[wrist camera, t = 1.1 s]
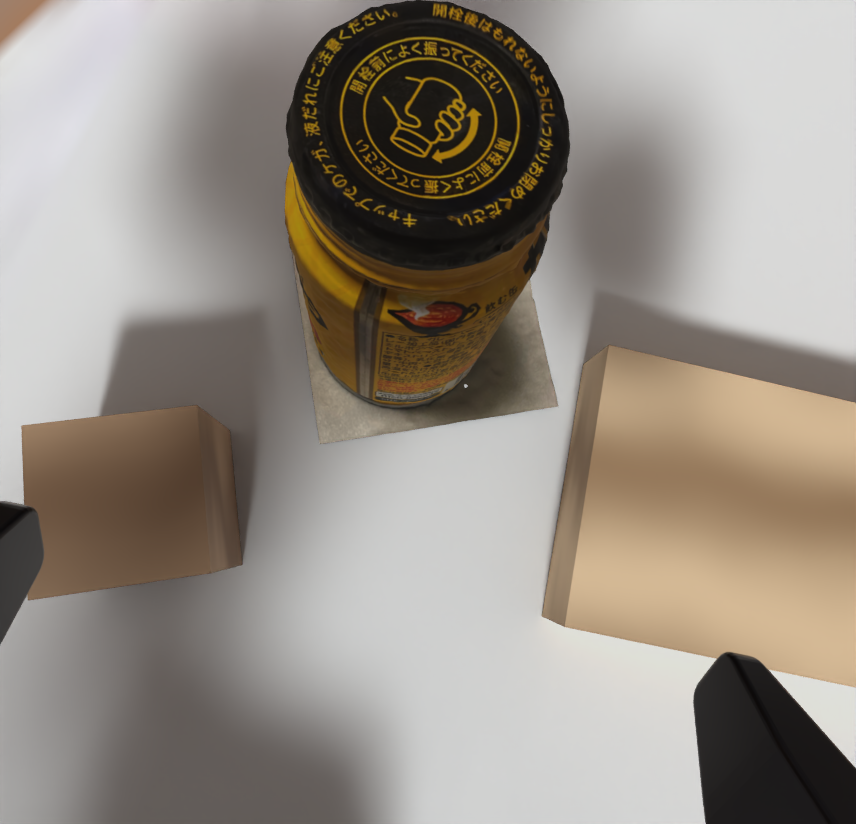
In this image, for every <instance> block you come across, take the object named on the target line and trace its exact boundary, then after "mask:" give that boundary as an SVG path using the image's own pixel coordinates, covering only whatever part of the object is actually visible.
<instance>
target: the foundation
mask: <svg viewBox="0 0 856 824" xmlns="http://www.w3.org/2000/svg"><path fill="white" fill-rule="evenodd" d="M542 617H545V618H547V619H549V620H551V621H553V622H555V623H557V624H560V625H562V626H564V627H568V628H572V629H577V630H582V631H587V632H592V633H596V634H601V635H606V636H611V637H616V638H620V639H625V640H630V641H635V642H640V643H645V644H649V645H654V646H659V647H664V648H669V649H673V650H678V651H683V652H688V653H693V654H697V655H702V656H707V657H712V658H718V657H719V656H720V655H721V654H723V653H725V652H733V653H738V654H743V655H748V656H752V657H754V658H756V659H758V660H759V661H760V662H761V663H762V664H764V666H765V667H766V668H767V669H770V670H774V671H779V672H784V673H789V674H794V675H798V676H803V677H808V678H813V679H818V680H822V681H827V682H832V683H837V684H842V685H846V686H851V687H856V403H855V402H850V401H846V400H842V399H837V398H833V397H829V396H825V395H820V394H816V393H812V392H808V391H803V390H799V389H795V388H791V387H786V386H782V385H778V384H774V383H769V382H765V381H761V380H757V379H752V378H748V377H744V376H740V375H735V374H731V373H727V372H723V371H718V370H714V369H710V368H706V367H701V366H697V365H693V364H688V363H684V362H680V361H676V360H671V359H667V358H663V357H659V356H654V355H650V354H646V353H642V352H637V351H633V350H629V349H625V348H620V347H616V346H612V345H608V346H607V347H605V348H604V349H603V350H602V351H600V352H599V353H598V354H596V355H595V356H594V357H592V358H591V359H590V360H588V361H587V362H586V363H585V364H583V370H582V376H581V382H580V388H579V394H578V400H577V406H576V412H575V418H574V425H573V431H572V437H571V443H570V449H569V455H568V461H567V467H566V473H565V479H564V485H563V491H562V497H561V503H560V510H559V516H558V522H557V528H556V534H555V540H554V546H553V552H552V558H551V564H550V570H549V576H548V582H547V589H546V595H545V601H544V607H543V613H542Z"/></svg>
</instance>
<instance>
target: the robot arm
mask: <svg viewBox="0 0 856 824" xmlns="http://www.w3.org/2000/svg"><path fill="white" fill-rule="evenodd" d="M43 560H44V546H43V540H42V534H41V528H40V522H39V516H38V513H37V511H36V510H35V509H34V508H33V507H31V506H27V505H22V504H17V503H12V502H7V501H0V644H1V642H2V641H3V639H4V637H5V635H6V633H7V631H8V629H9V627H10V626H11V624H12V622H13V620H14V618H15V616H16V614H17V612H18V611H19V609H20V607H21V605H22V603H23V601H24V599H25V598H26V596H27V594H28V592H29V590H30V588H31V586H32V584H33V583H34V581H35V579H36V577H37V575H38V573H39V571H40V569H41V567H42V564H43ZM693 702H694V715H695V725H696V735H697V746H698V756H699V766H700V777H701V787H702V797H703V806H704V814H705V822H706V824H856V768H855V767H854V766H853V765H852V764H851V762H850V761H849V760H848V759H847V758H846V757H845V756H844V755H843V753H842V752H841V751H840V750H839V749H838V748H837V747H836V746H835V744H834V743H833V742H832V741H831V740H830V739H829V738H828V737H827V735H826V734H825V733H824V732H823V731H822V730H821V729H820V728H819V726H818V725H817V724H816V723H815V722H814V721H813V720H812V718H811V717H810V716H809V715H808V714H807V713H806V712H805V711H804V709H803V708H802V707H801V706H800V705H799V704H798V703H797V702H796V700H795V699H794V698H793V697H792V696H791V695H790V694H789V693H788V691H787V690H786V689H785V688H784V687H783V686H782V685H781V684H780V682H779V681H778V680H777V679H776V678H775V677H774V676H773V675H772V673H771V672H770V671H769V670H768V669H767V668H766V667H765V666H764V664H762V663H761V662H760V661H759V660H758V659H756V658H754V657H752V656H748V655H743V654H738V653H733V652H725V653H723V654H721V655H720V656H719V657H718V658H717V660H716V661H715V662H714V664H713V665H712V666H711V667H710V669H709V670H708V671H707V673H706V674H705V675H704V676H703V678H702V679H701V680H700V682H699V683H698V685H697V687H696V689H695V692H694V700H693Z"/></svg>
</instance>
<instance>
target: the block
mask: <svg viewBox="0 0 856 824" xmlns="http://www.w3.org/2000/svg"><path fill="white" fill-rule="evenodd" d="M21 427H22V455H23V482H24V505H27V506H31V507H33V508H34V509H35V510H36V511H37V513H38V516H39V522H40V528H41V534H42V540H43V546H44V560H43V564H42V567H41V569H40V571H39V573H38V575H37V577H36V579H35V581H34V583H33V584H32V586H31V588H30V590H29V592H28V600H34V599H41V598H47V597H54V596H61V595H68V594H74V593H81V592H88V591H94V590H101V589H108V588H115V587H121V586H128V585H135V584H141V583H148V582H155V581H162V580H168V579H175V578H182V577H188V576H195V575H202V574H209V573H213V572H217V571H221V570H225V569H228V568H232V567H236V566H240V565H242V556H241V545H240V535H239V524H238V513H237V502H236V491H235V480H234V469H233V458H232V447H231V437H230V430H229V429H228V428H226V427H225V426H224V425H222V424H221V423H220V422H218V421H217V420H216V419H215V418H213V417H212V416H211V415H209V414H208V413H207V412H205V411H204V410H203V409H201V408H200V407H199V406H198V405H193V406H184V407H176V408H167V409H159V410H150V411H142V412H133V413H125V414H116V415H108V416H99V417H91V418H82V419H74V420H65V421H57V422H48V423H40V424H31V425H23V426H21Z"/></svg>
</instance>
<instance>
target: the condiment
mask: <svg viewBox="0 0 856 824" xmlns="http://www.w3.org/2000/svg"><path fill="white" fill-rule="evenodd" d="M286 133H287V138H288V145H289V148H288V154H289V157H290V159H291V163H290V166H289V169H288V174H287V179H286V192H285V224H286V227H287V231H288V235H289V244H290V248H291V250H292V256H293V263H294V270H295V278H296V283H297V290H298V297H299V304H300V310H301V318H302V324H303V331H304V338H305V345H306V352H307V359H308V366H309V372H310V379H311V386H312V395H313V399H314V407H315V414H316V421H317V428H318V435H319V442H320V444H324V443H330V442H336V441H343V440H350V439H356V438H363V437H370V436H376V435H381V434H388V433H396V432H402V431H409V430H414V429H420V428H427V427H433V426H439V425H446V424H451V423H456V422H462V421H467V420H476V419H482V418H489V417H495V416H503V415H508V414H514V413H519V412H525V411H530V410H538V409H544V408H551V407H557V406H558V403H557V399H556V395H555V390H554V386H553V383H552V380H551V376H550V370H549V366H548V362H547V358H546V353H545V348H544V344H543V339H542V336H541V331H540V327H539V322H538V317H537V312H536V307H535V302H534V300H533V298H532V289H531V283H530V278H531V276H532V274H533V273H534V272H535V271H536V268H537V265H538V263H539V260H540V258H541V256H542V253H543V250H544V246H545V243H546V241H547V233H548V231H549V219H550V211H551V209H552V205H553V203H554V202H555V201H556V200H557V198H558V197H559V195H560V193H561V189H562V187H563V183H562V180H563V178H564V176H565V174H566V172H567V162H568V156H569V151H570V142H569V124H568V119H567V115H566V111H565V108H564V99H563V96H562V94H561V91H560V89H559V87H558V84H557V82H556V80H555V78H554V77H553V75H552V74H551V72H550V69H549V67H548V65H547V63H546V62H545V61H544V60H543V58H542V56H541V55H539V54H538V53H537V52H536V51H535V50H534V49H533V48H532V47H531V46H530V45H529V44H528V43H526V42H525V41H524V40H523V39H522V38H521V37H520V36H519V35H518V34H516V33H515V32H514V31H513V30H512V29H510V28H509V27H507V26H505V25H504V24H502V23H500V22H499V21H497V20H494V19H491V18H489V17H488V16H487V15H485V14H482V13H478V12H475V11H472V10H469V9H466V8H464V7H461V6H458V5H456V4H454V3H450V2H436V1H422V0H415V1H405V2H401V3H394V4H385V5H383V6H380V7H371V8H369V9H367V10H365V11H364V12H362V13H361V14H360V15H358V16H357V17H355V18H353V19H351V20H350V21H348V22H346V23H344V24H342V25H340V26H338V27H336V28H333V29H331V30H330V31H329V32H328V33H327V34H326V35H325V36H324V37H323V38H322V39H321V40H320V41H319V43H318V44H317V45H316V47H315V48H314V49H313V51H312V52H311V54H310V55H309V57H308V58H307V61H306V63H305V66H304V68H303V70H302V72H301V74H300V76H299V79H298V81H297V84H296V87H295V91H294V96H293V101H292V104H291V106H290V109H289V111H288V113H287V123H286ZM464 384H467V385H468V387H467V388H465V387H464Z"/></svg>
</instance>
